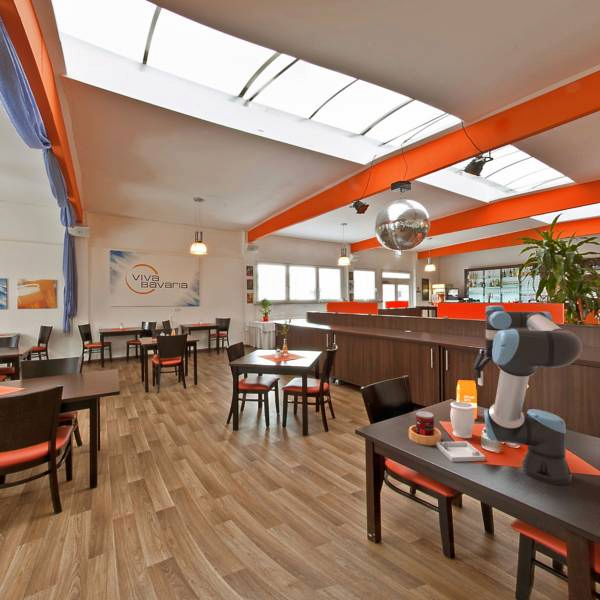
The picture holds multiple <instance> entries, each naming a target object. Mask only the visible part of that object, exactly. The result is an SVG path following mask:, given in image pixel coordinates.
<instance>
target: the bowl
mask: <svg viewBox="0 0 600 600" xmlns="http://www.w3.org/2000/svg"><path fill="white" fill-rule="evenodd" d="M408 438H409V439H410V440H411V442H414V443H415V444H418V445H422V446H436V442H442V432H441V431H440V429H438V428H437V427H434V436H423V435H419V434H416V424H414V425H410V426H409V428H408Z"/></svg>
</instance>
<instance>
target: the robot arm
mask: <svg viewBox="0 0 600 600" xmlns="http://www.w3.org/2000/svg"><path fill="white" fill-rule="evenodd" d="M484 314H485V338H486V339H485V349H482V348H480V349H478V355H477V356H476V358H475V360H474V363H473V365H472V367H471V369H472V370H475V371H476V378H477V385H479V386H480V387H482V386H484V371H482V370H484V368H485V367H486V365H487V364H488V363H489V362H490V361H491V360H493V363H494V364H496V365H497V367H498V368H499V369H500V370H499V377H498V383H497V389H496V395H495V401H494V403H493V404H491V406H490V408H487V409H484V411H483V417H484V424H485V430H486V431H485V432H486V436H487V438H488V439H489V440H490V441H495V442H498V443H508V444H515V445H522V446H527V451H526V453H525V455H524V458H523V460H522V462H521V468H522V469H521V470H522V471H523V473H524V474H525V475H527V476H529V477H530V478H532V479H533V480H536V481H538V482H540V483H541V482H542V483H545V484H549V485H556V486H567V485H570V484H571V483H572V472H571V470H570V467H569V465H568V462H567V459H566V454H567V453H566V451H567V450H566V448H567V446H566V444H567V443H566V442H567V441H566V438H567V437H566V436H567V428H566V422H565V421H564V419H563V418H561V416H558V415H557V414H554V413H552V412H548V411H545V410H543V409H542V410H541V409H536V408H533V409H532V408H531V409H527V412H526V413H524V412H523V411H522V410H523V406H524V402H525V397H526V392H527V388H528V385H529V384H528V383H529V379H530V377H531V376H533V375H534V374H535V373H536V372H537V369H538V367H539V368H554V369H555V368H562V367H566V366H568V365H571V364H572V363H574V362H575V361H576V360H577V359H579V357H580V356H581V353H582V351H583V343H582V341H581V339H580V337H578V335H577V334H575V333H574V332H572V331H571V330H569V329H567V328H561V327H560V326H559V325H557V324H556V323H555V322H553V317H552V314H551V313H550V312H549V311H539V310H538V311H537V310H536V311H521V310H520V311H517V310H516V311H514V310H513V311H512V310H510V311H509V310H508V311H507V310H506V311H505V307H504V306H503V305H487V306H485V312H484Z"/></svg>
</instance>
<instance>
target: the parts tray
mask: <svg viewBox="0 0 600 600" xmlns="http://www.w3.org/2000/svg"><path fill="white" fill-rule="evenodd" d="M442 442H443V441H441V442H436V445H435V446H436V448H437V449H439V451H440V452H441V453H443V454H444V456H446V458H448V460H450V461H451V463H452V462H453V463H456V462H457V463H459V462H486V456H485V455H484V453H482V452H480V450H478V449H477V448H476V447H474V446H473V445H472V444H471V443H469V442H468V441H467V440H464V441H462V440H461V441H446V442H447V444H448V448H447V449H444V448H443V447H442V446H441V443H442ZM474 450H476V451H478V452H479V453H480V456H472V451H474Z"/></svg>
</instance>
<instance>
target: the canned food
mask: <svg viewBox="0 0 600 600" xmlns="http://www.w3.org/2000/svg"><path fill="white" fill-rule="evenodd" d="M434 416H435V415H434V414H433V413H431V412H430V411H427V410H426V411H423V410H420V411H417V412H416V413H415V425H416V434H419V435H423V436H434V428H435V426H434V425H435V417H434Z"/></svg>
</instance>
